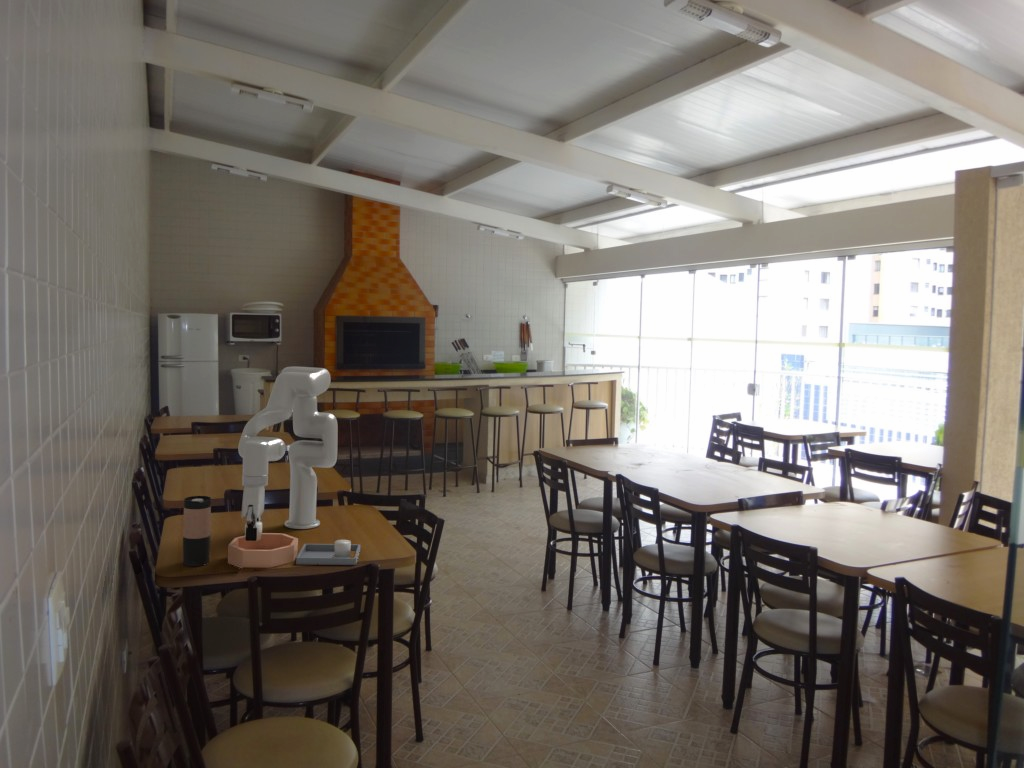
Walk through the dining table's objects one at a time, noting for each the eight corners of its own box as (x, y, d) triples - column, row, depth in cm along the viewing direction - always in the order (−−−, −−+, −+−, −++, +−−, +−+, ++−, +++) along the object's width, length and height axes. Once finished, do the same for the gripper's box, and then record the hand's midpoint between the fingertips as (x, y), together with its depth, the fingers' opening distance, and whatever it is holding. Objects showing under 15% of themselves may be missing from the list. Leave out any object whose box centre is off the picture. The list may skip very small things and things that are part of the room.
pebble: (335, 554, 231) (335, 539, 231) (351, 554, 232) (351, 539, 232) (333, 559, 226) (333, 543, 226) (349, 559, 227) (350, 544, 227)
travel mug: (188, 559, 222) (189, 495, 221) (213, 559, 223) (214, 496, 222) (178, 566, 215) (179, 500, 214) (204, 567, 215) (206, 501, 214)
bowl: (239, 550, 234) (239, 532, 233) (300, 551, 236) (301, 533, 236) (222, 569, 214) (223, 550, 214) (289, 570, 217) (290, 551, 216)
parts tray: (304, 552, 235) (304, 543, 235) (360, 552, 237) (360, 544, 237) (296, 566, 220) (296, 557, 220) (355, 567, 222) (356, 558, 222)
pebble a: (246, 536, 226) (247, 520, 226) (263, 536, 227) (263, 521, 227) (242, 540, 221) (243, 524, 221) (259, 541, 222) (260, 525, 222)
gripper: (249, 474, 231) (247, 530, 232) (235, 485, 214) (233, 545, 215) (273, 475, 232) (271, 531, 233) (261, 485, 215) (259, 545, 216)
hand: (253, 537), depth 224 cm, fingers closed on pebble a, 4 cm apart
